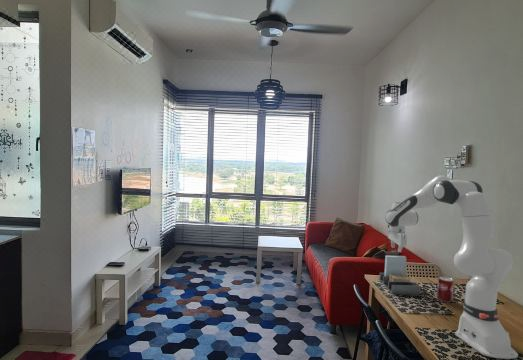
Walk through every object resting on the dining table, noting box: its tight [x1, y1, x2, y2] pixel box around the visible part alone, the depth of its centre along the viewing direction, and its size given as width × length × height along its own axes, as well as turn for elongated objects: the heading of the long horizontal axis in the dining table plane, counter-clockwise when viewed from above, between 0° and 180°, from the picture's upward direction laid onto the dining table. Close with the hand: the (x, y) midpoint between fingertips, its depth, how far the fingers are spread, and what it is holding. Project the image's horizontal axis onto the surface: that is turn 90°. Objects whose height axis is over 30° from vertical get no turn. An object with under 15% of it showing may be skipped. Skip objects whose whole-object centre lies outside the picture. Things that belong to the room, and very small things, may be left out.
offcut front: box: [392, 276, 411, 282], centre depth 182 cm, size 2×10×6 cm, turn 88°
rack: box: [378, 272, 421, 296], centre depth 186 cm, size 22×16×5 cm
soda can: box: [436, 276, 455, 303], centre depth 169 cm, size 7×7×12 cm
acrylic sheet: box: [383, 254, 407, 276], centre depth 191 cm, size 2×12×16 cm, turn 88°
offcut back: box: [389, 274, 409, 281], centre depth 186 cm, size 2×10×6 cm, turn 88°
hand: (396, 249), depth 190 cm, fingers open, 8 cm apart
